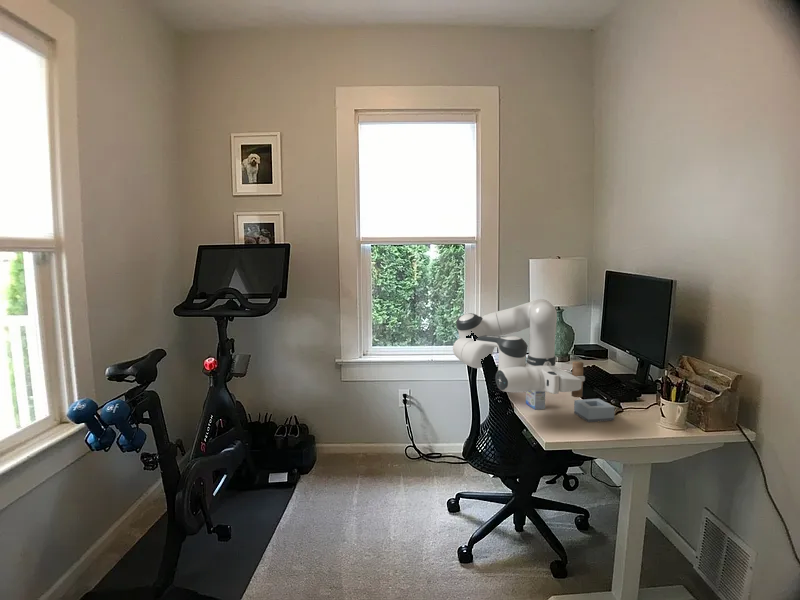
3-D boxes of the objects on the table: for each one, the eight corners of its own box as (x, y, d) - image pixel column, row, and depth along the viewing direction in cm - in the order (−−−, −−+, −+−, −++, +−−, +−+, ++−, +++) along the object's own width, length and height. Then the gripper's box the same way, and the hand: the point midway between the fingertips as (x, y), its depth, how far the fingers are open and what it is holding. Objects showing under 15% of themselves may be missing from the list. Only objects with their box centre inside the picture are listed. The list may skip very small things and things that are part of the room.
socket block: (574, 412, 181) (574, 400, 181) (598, 411, 183) (599, 398, 182) (588, 422, 172) (588, 408, 171) (614, 420, 173) (614, 406, 173)
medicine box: (525, 403, 193) (525, 382, 192) (535, 402, 194) (535, 381, 193) (534, 410, 185) (535, 388, 184) (545, 409, 186) (545, 387, 185)
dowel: (569, 394, 172) (570, 361, 171) (579, 394, 173) (580, 361, 171) (574, 397, 169) (575, 364, 167) (584, 397, 169) (585, 363, 168)
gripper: (530, 379, 178) (565, 377, 181) (556, 395, 158) (595, 393, 160) (530, 362, 178) (565, 360, 180) (557, 376, 158) (596, 374, 160)
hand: (580, 376), depth 170 cm, fingers closed on dowel, 4 cm apart
